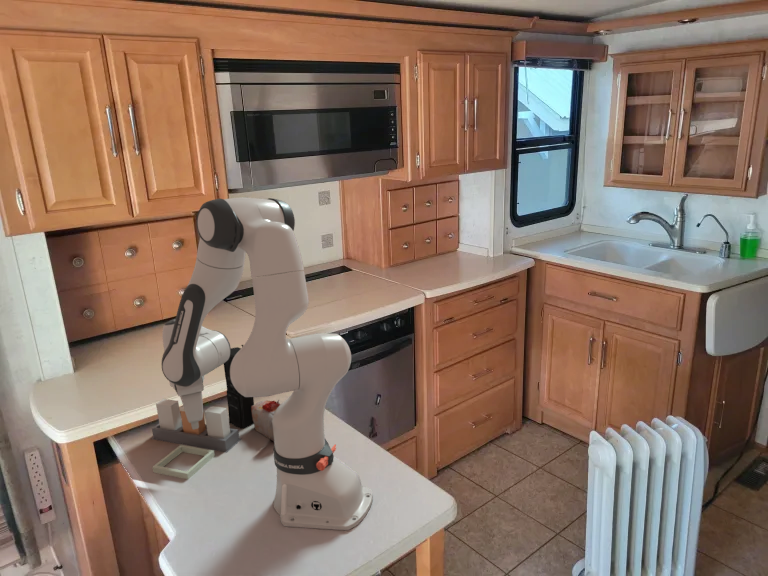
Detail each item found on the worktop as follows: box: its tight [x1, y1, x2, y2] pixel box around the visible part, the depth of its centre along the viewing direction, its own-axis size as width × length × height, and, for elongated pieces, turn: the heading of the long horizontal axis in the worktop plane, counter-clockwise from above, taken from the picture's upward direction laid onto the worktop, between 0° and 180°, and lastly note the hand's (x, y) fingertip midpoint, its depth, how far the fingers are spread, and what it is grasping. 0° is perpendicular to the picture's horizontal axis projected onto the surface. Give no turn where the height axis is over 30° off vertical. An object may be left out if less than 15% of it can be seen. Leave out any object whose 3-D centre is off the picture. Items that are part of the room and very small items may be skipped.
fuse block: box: [150, 398, 242, 453], centre depth 155 cm, size 25×7×11 cm, turn 70°
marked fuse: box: [179, 405, 206, 435], centre depth 154 cm, size 5×3×10 cm, turn 70°
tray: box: [152, 444, 216, 480], centre depth 144 cm, size 11×11×2 cm
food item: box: [251, 399, 282, 442], centre depth 157 cm, size 14×8×10 cm, turn 45°
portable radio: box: [223, 344, 255, 430], centre depth 161 cm, size 8×6×25 cm
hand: (193, 422), depth 154 cm, fingers closed on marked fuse, 6 cm apart
